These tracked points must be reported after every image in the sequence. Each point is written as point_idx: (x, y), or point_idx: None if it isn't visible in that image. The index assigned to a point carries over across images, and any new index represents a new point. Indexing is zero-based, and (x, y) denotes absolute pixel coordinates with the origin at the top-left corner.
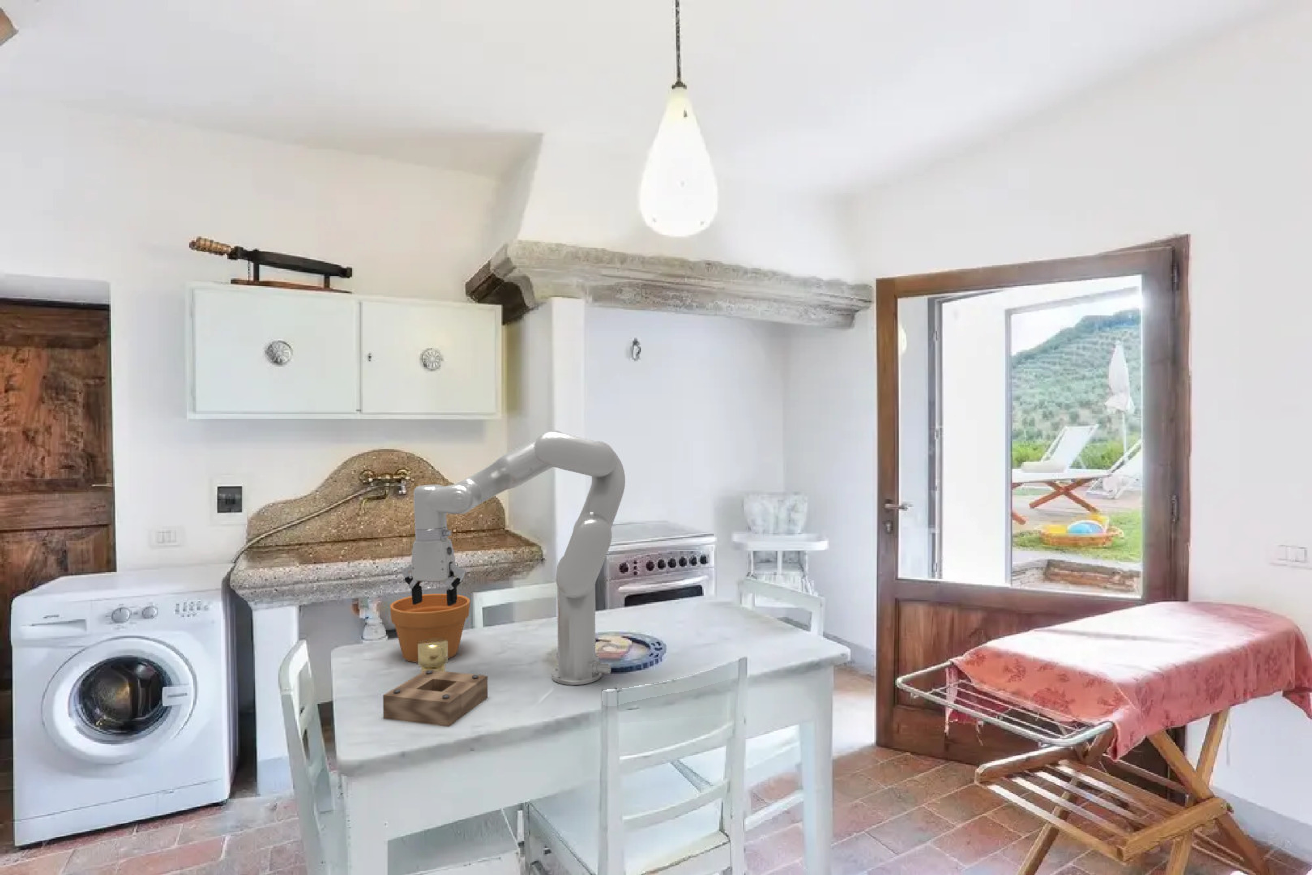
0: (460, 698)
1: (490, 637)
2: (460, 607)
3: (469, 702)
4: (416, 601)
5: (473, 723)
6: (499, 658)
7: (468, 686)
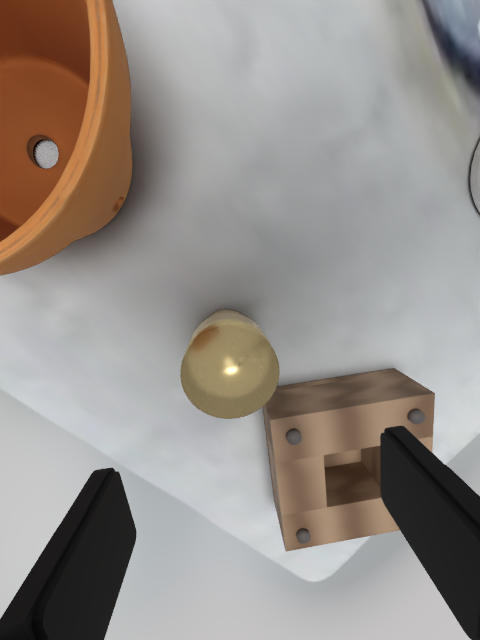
0: None
1: None
2: (109, 34)
3: None
4: (127, 540)
5: None
6: (271, 109)
7: None
